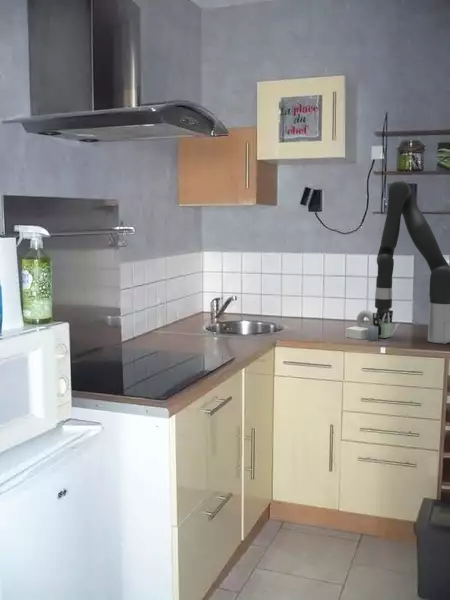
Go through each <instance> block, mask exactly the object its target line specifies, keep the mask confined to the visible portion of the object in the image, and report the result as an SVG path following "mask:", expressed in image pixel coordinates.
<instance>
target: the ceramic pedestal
mask: <svg viewBox="0 0 450 600" xmlns="http://www.w3.org/2000/svg"><path fill="white" fill-rule="evenodd" d="M367 335H368V328H363V327H359V326H355V325H354V326H351V327H347V328H346V327H345V335H344V336H345V337H344V338H348V337H349V339H354V340H364V339H365V340H366V339H367Z"/></svg>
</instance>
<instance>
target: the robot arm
mask: <svg viewBox="0 0 450 600" xmlns="http://www.w3.org/2000/svg"><path fill="white" fill-rule="evenodd" d="M387 197H388V198H387V199H388V201H387V210H386V218H385V221H384V226H383V230H382V235H381V240H380V242H381V243H380V247H379V249H378V252H377V256H376V264H377V276H376V281H375V282H376V283H375V294H374V308H376V312H372V313H373V325H374V326H378V335H381V325H382V323H383V322H386V323H392V322H393V315H394V310H391V309H392V307H393V274H394V267H395V266H394V264H395V259H394V254H395V249H396V247H397V244H398V240H399V235H400V230H401V229H400V228H401V221H402V220H401V218H402V217H403V220H404V224H405V227H406V230H407V232H408V235H409V237H410V239H411V241H412V243H413V245H414V246H415V248H416V249H417V250H418V252H419V253H420V254H421V256H422V257H423V258H424V260H425V261H426V263H427V265H428V268H429V270H430V272H431V273H430V277H429V293H428V295H429V309H428V327H427V328H428V329H427V341H428V342H430V343H435V344H449V343H450V265H449V263H448V262H447V260H446V258H445V257H444V255H443V253H442V251H441V249H440V245H439V244H438V242H437V239H436V237H435V235H434V232H433V231H432V228H431V226H430V224H429V222H428V221H427V219H426V217H425V216H424V214H423V213H422V211H421V210H420V208H419V207H418V204H417V203H416V199H415V198H414V194H413V192H412V188H411V186H410V185H409V183H408V182H406V181H405V180H400V179H398V180H397V179H396V180H394V181H393V182H392V183H390V185H389V187H388V196H387ZM375 321H376V323H375ZM379 322H380V324H379ZM392 324H393V323H392Z"/></svg>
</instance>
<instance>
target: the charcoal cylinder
mask: <svg viewBox="0 0 450 600" xmlns="http://www.w3.org/2000/svg"><path fill="white" fill-rule="evenodd" d="M366 339H367V341H369V340H370V341H371V342H378V341H379V337H378V326H368V335H367V338H366ZM370 341H369V342H370Z"/></svg>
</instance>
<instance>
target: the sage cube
mask: <svg viewBox="0 0 450 600" xmlns="http://www.w3.org/2000/svg"><path fill="white" fill-rule="evenodd" d="M379 324H380V322H379ZM373 326H374V325H373ZM392 328H393V323H386V322H383V323H382V325H381V335H378V338H383V339H384V338H385V339H386V338H390V337H392V332H393V331H392V330H393V329H392Z"/></svg>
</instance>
